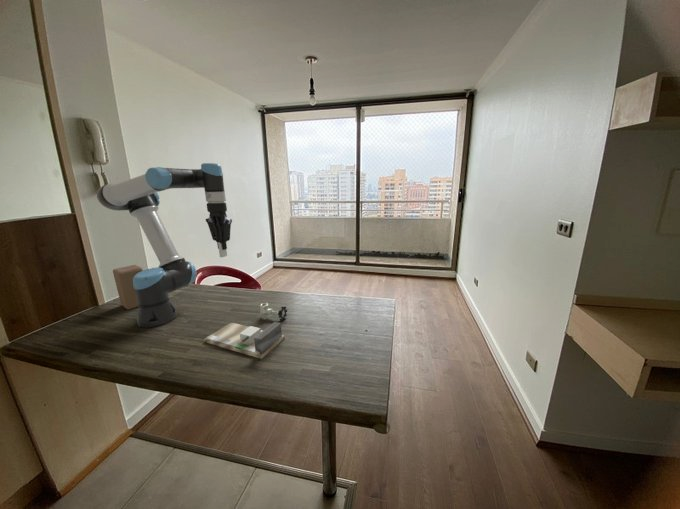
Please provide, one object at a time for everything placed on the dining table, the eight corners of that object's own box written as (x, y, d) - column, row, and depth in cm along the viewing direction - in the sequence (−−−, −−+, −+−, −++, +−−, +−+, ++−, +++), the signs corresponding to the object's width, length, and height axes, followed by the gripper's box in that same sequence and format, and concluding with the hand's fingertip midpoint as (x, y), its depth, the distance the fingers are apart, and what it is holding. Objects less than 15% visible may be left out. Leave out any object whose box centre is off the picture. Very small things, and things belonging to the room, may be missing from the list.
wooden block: (143, 298, 144) (135, 264, 139) (150, 303, 138) (142, 267, 133) (120, 305, 136) (111, 269, 131) (127, 310, 130) (118, 272, 125)
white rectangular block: (235, 345, 99) (234, 337, 98) (251, 333, 106) (250, 325, 105) (245, 348, 97) (244, 340, 96) (261, 336, 104) (260, 328, 103)
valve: (257, 320, 120) (281, 323, 116) (256, 307, 118) (280, 310, 115) (265, 313, 126) (287, 316, 122) (264, 301, 124) (286, 303, 121)
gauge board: (204, 341, 103) (202, 325, 101) (231, 324, 116) (229, 310, 114) (261, 359, 93) (259, 341, 91) (284, 338, 105) (283, 322, 103)
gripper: (197, 202, 109) (205, 257, 115) (220, 203, 104) (228, 260, 110) (212, 201, 115) (219, 253, 121) (234, 201, 110) (241, 255, 116)
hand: (223, 256), depth 116 cm, fingers closed
